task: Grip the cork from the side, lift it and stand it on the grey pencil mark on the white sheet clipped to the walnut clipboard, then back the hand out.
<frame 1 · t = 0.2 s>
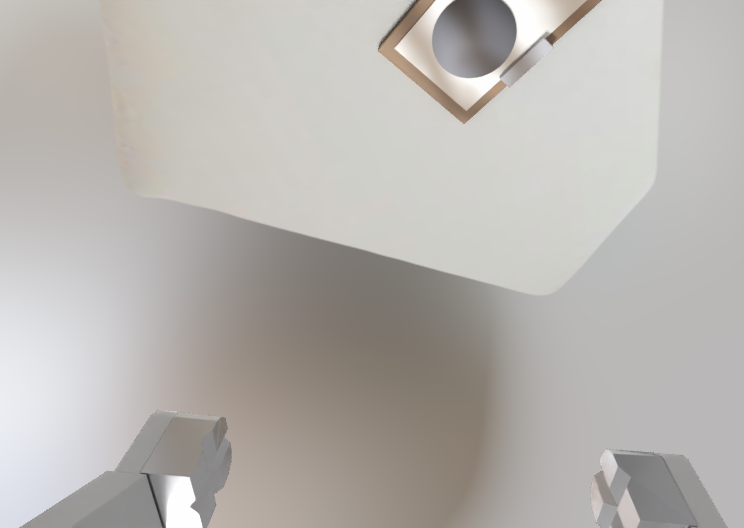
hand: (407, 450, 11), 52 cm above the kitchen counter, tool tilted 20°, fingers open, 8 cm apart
clipboard: (486, 20, 53), on the kitchen counter
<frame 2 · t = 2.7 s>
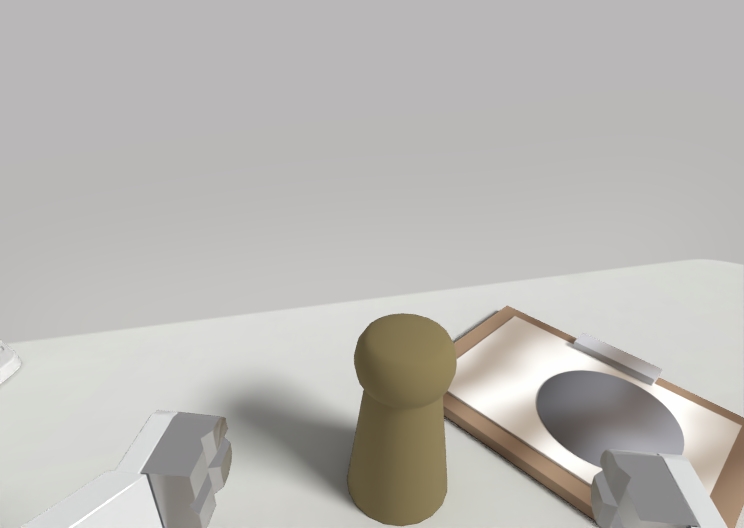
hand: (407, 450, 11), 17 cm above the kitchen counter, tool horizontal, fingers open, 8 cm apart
cork: (397, 480, 30), on the kitchen counter
clipboard: (575, 411, 34), on the kitchen counter
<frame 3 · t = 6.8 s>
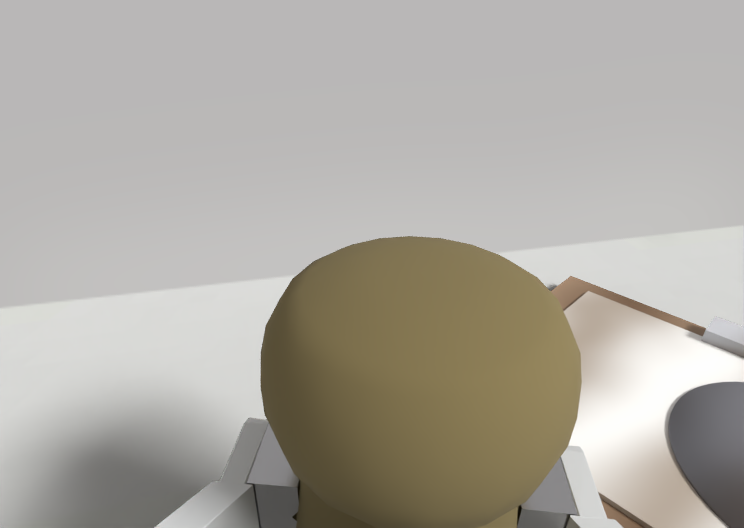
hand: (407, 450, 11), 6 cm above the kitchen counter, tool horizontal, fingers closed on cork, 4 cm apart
clipboard: (739, 463, 18), on the kitchen counter
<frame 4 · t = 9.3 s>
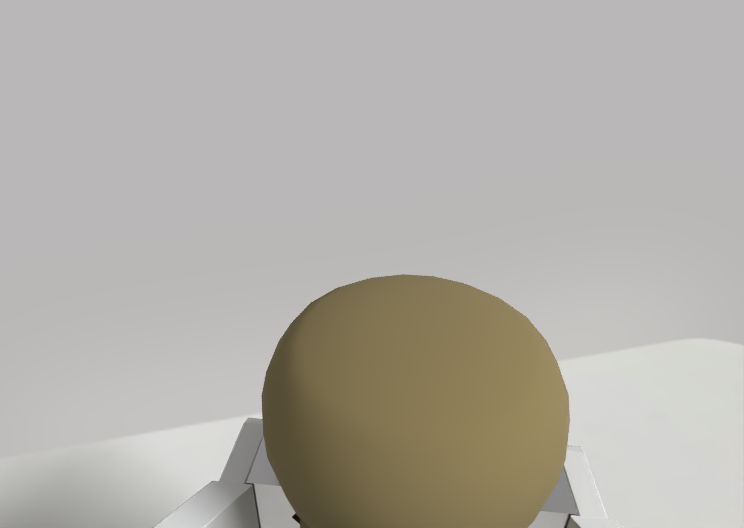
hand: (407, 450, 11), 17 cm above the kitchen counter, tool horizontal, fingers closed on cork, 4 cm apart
when the fingers open (8 cm above the kitchen counter, at t = 11.9 s): cork moves 2 cm, resting on clipboard.
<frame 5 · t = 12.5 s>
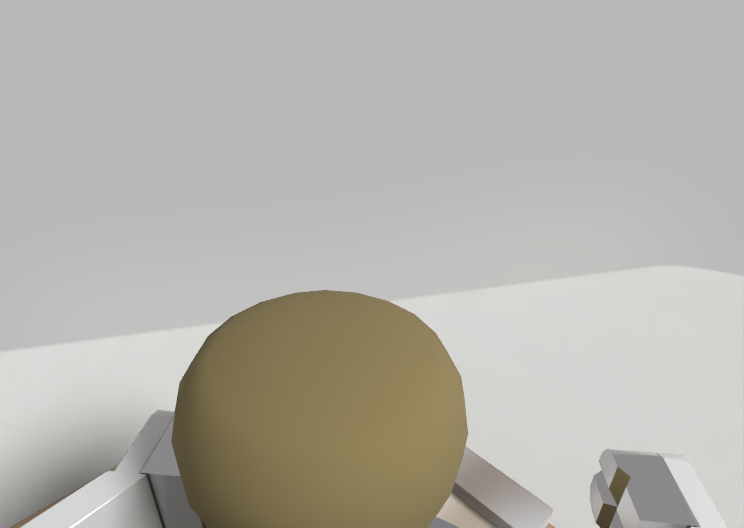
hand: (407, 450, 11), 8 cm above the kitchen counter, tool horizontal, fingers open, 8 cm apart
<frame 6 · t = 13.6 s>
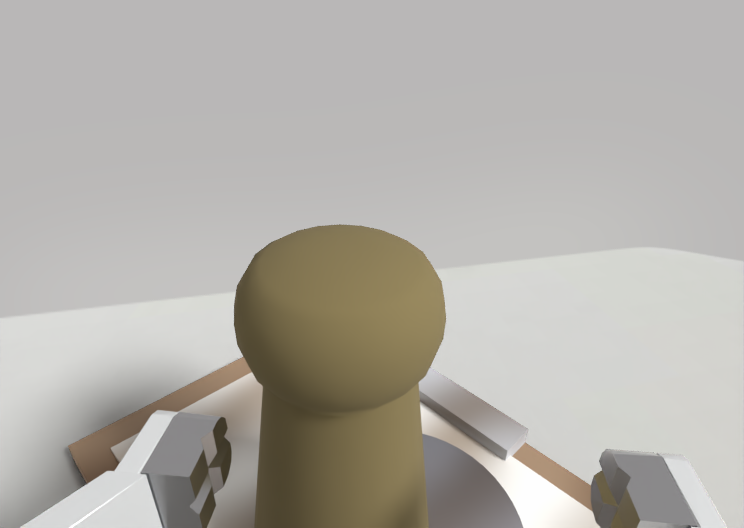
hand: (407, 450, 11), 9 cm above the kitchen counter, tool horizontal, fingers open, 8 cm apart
clipboard: (356, 512, 19), on the kitchen counter
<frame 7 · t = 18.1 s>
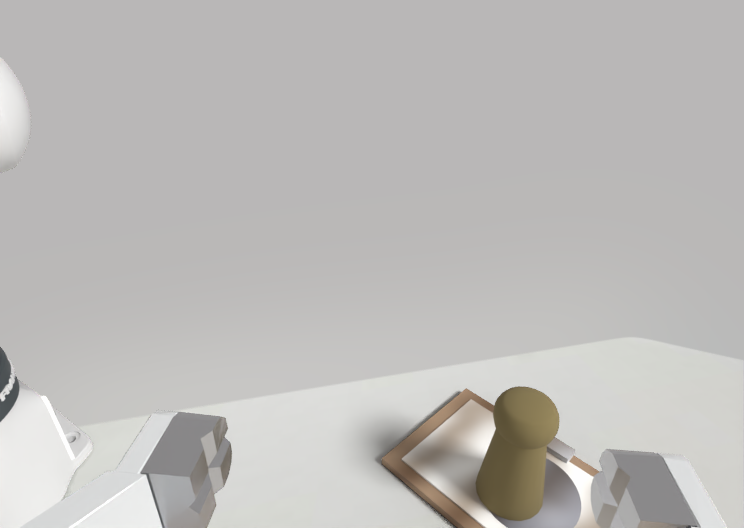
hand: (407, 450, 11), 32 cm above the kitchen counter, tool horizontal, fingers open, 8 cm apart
cork: (508, 491, 45), point 1 cm above the kitchen counter, touching clipboard
clipboard: (508, 484, 46), on the kitchen counter
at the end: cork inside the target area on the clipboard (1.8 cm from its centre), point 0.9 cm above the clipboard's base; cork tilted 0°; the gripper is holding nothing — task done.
